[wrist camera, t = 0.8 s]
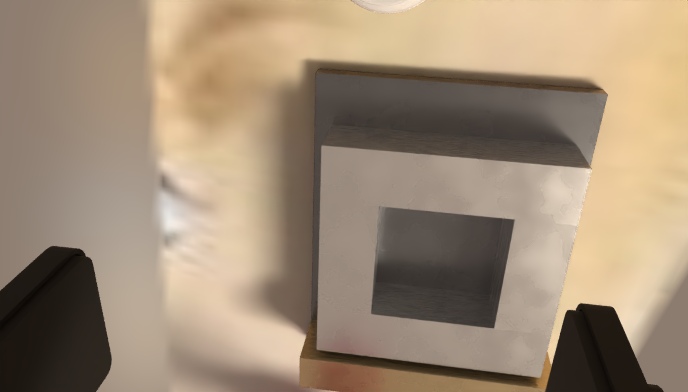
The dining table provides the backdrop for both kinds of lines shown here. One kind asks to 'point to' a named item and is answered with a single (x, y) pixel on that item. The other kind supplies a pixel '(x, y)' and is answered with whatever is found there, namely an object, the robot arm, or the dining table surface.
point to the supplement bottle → (388, 5)
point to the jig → (442, 229)
